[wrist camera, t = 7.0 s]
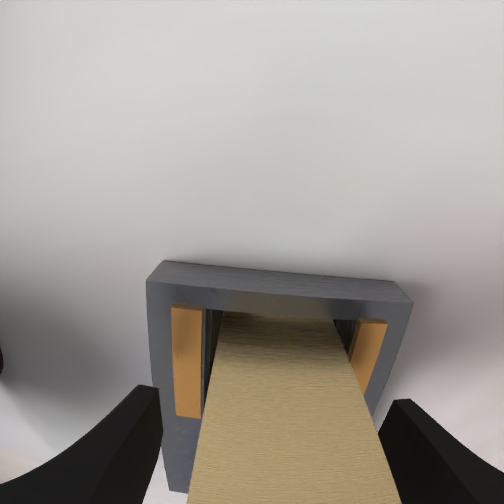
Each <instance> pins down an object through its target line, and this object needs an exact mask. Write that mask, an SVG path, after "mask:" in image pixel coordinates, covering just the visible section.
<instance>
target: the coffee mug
mask: <svg viewBox="0 0 504 504" xmlns="http://www.w3.org/2000/svg"><path fill="white" fill-rule="evenodd" d="M2 370H3V357H2V353H1V349H0V374H1V373H2Z"/></svg>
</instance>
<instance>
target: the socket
mask: <svg viewBox="0 0 504 504" xmlns="http://www.w3.org/2000/svg"><path fill="white" fill-rule="evenodd" d="M146 298H147V318H148V334H149V348H150V360H151V371H152V380H153V387H156V388H159V397H160V406H161V414H162V422H163V430H164V432H163V437H162V442H161V448H162V454H163V459H164V465H165V470H166V476H167V481H168V486H169V490H170V491H175V492H181V493H187V494H188V493H189V487H190V482H191V477H192V471H193V466H194V460H195V455H196V450H197V444H198V439H199V434H200V429H201V423H202V418H203V413H204V408H205V403H206V398H207V392H208V387H209V382H210V357H211V331H212V309H214V310H223V311H233V312H244V313H255V314H267V315H279V316H292V317H307V318H323V319H338V322H337V326H336V330H337V332H338V334H339V337H340V339H341V342H342V344H343V347H344V349H345V351H346V354H347V356H348V359H349V361H350V364H351V366H352V369H353V371H354V374H355V376H356V379H357V381H358V384H359V387H360V389H361V392H362V394H363V397H364V399H365V402H366V405H367V407H368V410H369V413H370V415H371V417H372V415H373V413H374V410H375V408H376V406H377V403H378V401H379V399H380V396H381V394H382V392H383V389H384V387H385V384H386V382H387V379H388V377H389V374H390V371H391V369H392V366H393V363H394V361H395V358H396V355H397V352H398V350H399V347H400V344H401V341H402V338H403V335H404V332H405V329H406V326H407V323H408V319H409V316H410V313H411V309H412V306H413V302H412V301H411V300H410V299H409V297H408V296H407V295H406V294H405V293H404V292H403V291H402V290H401V289H400V288H399V287H398V286H397V285H396V284H395V283H394V282H393V281H382V280H369V279H357V278H344V277H332V276H320V275H308V274H297V273H286V272H275V271H264V270H253V269H242V268H232V267H221V266H211V265H201V264H191V263H181V262H171V261H162V262H161V263H160V264H159V265H158V267H157V268H156V269H155V270H154V271H153V272H152V274H151V275H150V276H149V277H148V278H147V280H146Z"/></svg>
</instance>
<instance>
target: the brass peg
mask: <svg viewBox="0 0 504 504" xmlns="http://www.w3.org/2000/svg"><path fill="white" fill-rule="evenodd" d="M187 504H402V503H401V500H400V497H399V494H398V491H397V488H396V485H395V482H394V479H393V476H392V473H391V471H390V468H389V465H388V462H387V459H386V456H385V453H384V451H383V448H382V445H381V442H380V440H379V437H378V434H377V431H376V429H375V426H374V423H373V421H372V418H371V415H370V413H369V410H368V407H367V405H366V402H365V399H364V397H363V394H362V392H361V389H360V387H359V384H358V381H357V379H356V376H355V374H354V371H353V369H352V366H351V364H350V361H349V359H348V356H347V354H346V351H345V349H344V347H343V344H342V342H341V339H340V337H339V334H338V332H337V330H336V327H335V325H334V322H333V320H332V319H323V318H307V317H292V316H279V315H267V314H255V313H244V312H233V311H224V313H223V318H222V323H221V328H220V332H219V337H218V342H217V347H216V352H215V357H214V362H213V367H212V372H211V377H210V382H209V387H208V392H207V398H206V403H205V408H204V413H203V418H202V423H201V429H200V434H199V439H198V444H197V450H196V455H195V460H194V466H193V471H192V477H191V482H190V487H189V493H188V499H187Z"/></svg>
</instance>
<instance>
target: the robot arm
mask: <svg viewBox="0 0 504 504" xmlns="http://www.w3.org/2000/svg"><path fill="white" fill-rule="evenodd" d="M163 432H164V430H163V422H162V414H161V406H160V397H159V388H156V387H150V386H145V385H140V384H139V385H138V386H136V387H135V388H134V389H133V390H132V391H131V392H130V393H129V394H128V395H127V396H126V397H125V398H124V399H123V401H122V402H120V403H119V404H118V405H117V406H116V407H115V408H114V409H113V410H112V411H111V412H110V413H109V414H108V415H107V416H106V417H105V418H104V419H103V420H101V421H100V422H99V423H98V424H97V425H96V426H95V427H94V428H93V429H91V430H90V431H89V432H88V433H87V434H85V435H84V436H83V437H82V438H80V439H79V440H78V441H76V442H75V443H74V444H73V445H71V446H70V447H69V448H67V449H66V450H64V451H63V452H62V453H60V454H59V455H57V456H56V457H54V458H52V459H51V460H49V461H48V462H46V463H44V464H43V465H41V466H39V467H37V468H35V469H33V470H32V471H30V472H28V473H26V474H24V475H22V476H20V477H17V478H15V479H13V480H10V481H8V482H5V483H2V484H0V504H142V502H143V500H144V497H145V494H146V491H147V488H148V485H149V483H150V480H151V477H152V474H153V471H154V468H155V466H156V463H157V460H158V456H159V451H160V447H161V442H162V437H163ZM378 437H379V440H380V442H381V445H382V448H383V451H384V453H385V456H386V459H387V462H388V465H389V468H390V471H391V473H392V476H393V479H394V482H395V485H396V488H397V491H398V494H399V497H400V500H401V503H402V504H504V473H503V472H502V471H500V470H498V469H497V468H495V467H493V466H492V465H490V464H489V463H487V462H485V461H484V460H483V459H481V458H480V457H478V456H477V455H476V454H474V453H473V452H472V451H470V450H469V449H468V448H466V447H465V446H464V445H463V444H461V443H460V442H459V441H458V440H457V439H455V438H454V437H453V436H452V435H451V434H450V433H448V432H447V431H446V430H445V429H444V428H443V427H442V426H441V425H439V424H438V423H437V422H436V421H435V420H434V419H433V418H432V417H431V416H429V415H428V414H427V413H426V412H425V411H424V410H423V409H422V408H421V407H419V406H418V405H417V404H416V403H415V402H413V401H412V400H411V399H398V400H393V403H392V405H391V407H390V409H389V411H388V413H387V416H386V418H385V420H384V422H383V424H382V426H381V428H380V430H379V432H378Z"/></svg>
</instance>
